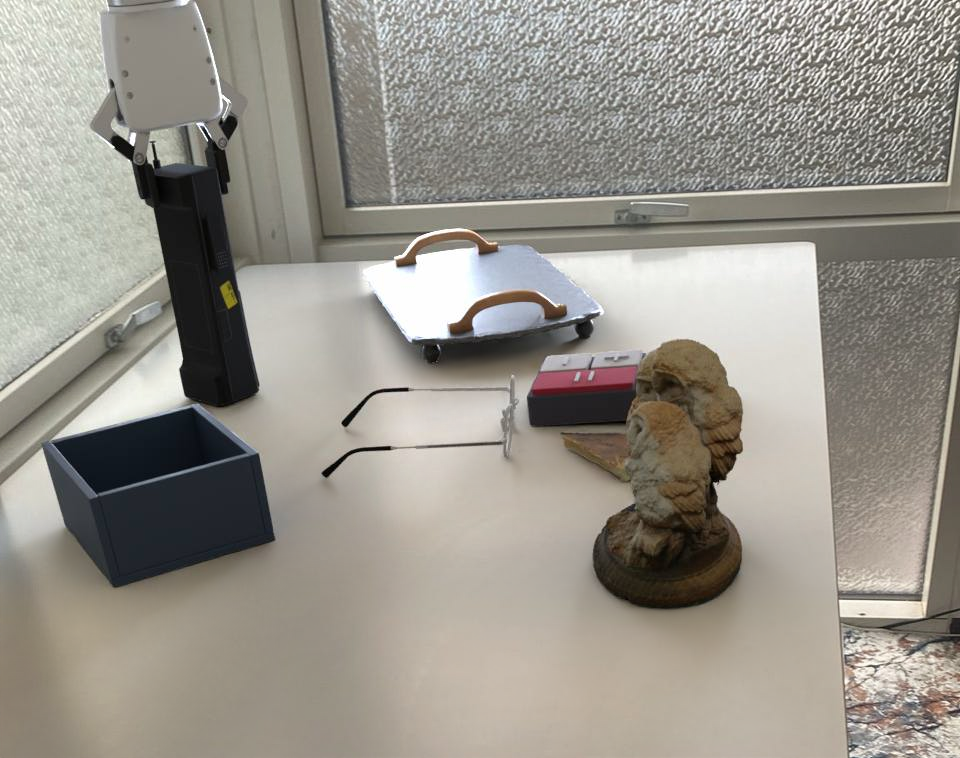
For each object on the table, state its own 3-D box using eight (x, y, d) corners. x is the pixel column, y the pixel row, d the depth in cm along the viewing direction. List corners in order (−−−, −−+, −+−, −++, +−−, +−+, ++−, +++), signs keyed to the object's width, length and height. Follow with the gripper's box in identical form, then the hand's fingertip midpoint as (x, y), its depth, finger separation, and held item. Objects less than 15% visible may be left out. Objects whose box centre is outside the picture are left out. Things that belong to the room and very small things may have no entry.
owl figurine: (592, 513, 115) (586, 308, 104) (731, 507, 113) (739, 298, 103) (593, 613, 100) (586, 387, 90) (751, 607, 99) (763, 377, 89)
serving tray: (358, 286, 177) (351, 236, 173) (525, 261, 180) (523, 211, 176) (417, 375, 147) (411, 317, 143) (617, 342, 150) (616, 285, 146)
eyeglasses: (518, 474, 123) (514, 420, 120) (319, 484, 125) (311, 432, 122) (524, 411, 135) (521, 362, 132) (344, 422, 137) (336, 373, 134)
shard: (560, 447, 127) (559, 429, 126) (629, 429, 129) (629, 410, 128) (618, 484, 119) (618, 464, 118) (691, 463, 121) (691, 444, 120)
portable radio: (270, 393, 146) (229, 138, 131) (227, 409, 143) (180, 149, 128) (224, 381, 151) (179, 133, 135) (182, 397, 147) (131, 144, 132)
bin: (113, 588, 111) (88, 499, 106) (65, 525, 122) (40, 442, 117) (275, 540, 116) (259, 453, 111) (214, 484, 127) (197, 403, 122)
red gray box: (542, 352, 138) (688, 341, 135) (546, 393, 141) (689, 384, 137) (524, 389, 130) (680, 379, 126) (529, 433, 132) (682, 423, 129)
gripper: (219, -25, 129) (253, 178, 140) (43, 0, 123) (93, 209, 134) (246, -22, 124) (280, 189, 135) (64, 4, 118) (114, 222, 129)
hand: (186, 197), depth 134 cm, fingers closed on portable radio, 6 cm apart
